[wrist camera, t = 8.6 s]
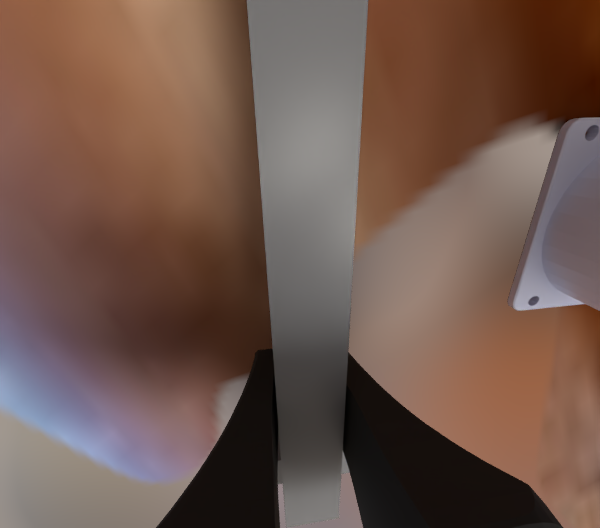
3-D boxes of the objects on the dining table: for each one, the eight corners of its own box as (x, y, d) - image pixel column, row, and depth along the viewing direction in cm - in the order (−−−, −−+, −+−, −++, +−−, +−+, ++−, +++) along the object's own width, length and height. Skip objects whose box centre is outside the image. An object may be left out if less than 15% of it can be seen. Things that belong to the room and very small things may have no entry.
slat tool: (376, -160, 7) (536, -574, 3) (344, 410, 15) (376, 511, 11) (167, -180, 7) (14, -732, 2) (248, 423, 14) (244, 535, 10)
